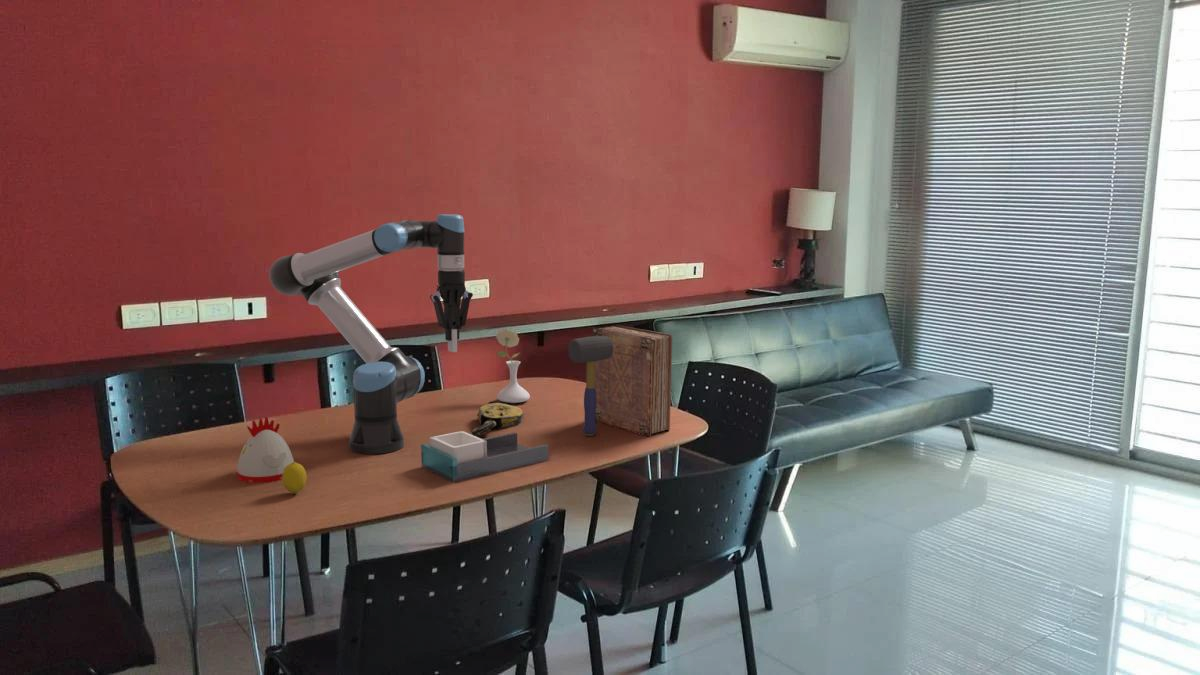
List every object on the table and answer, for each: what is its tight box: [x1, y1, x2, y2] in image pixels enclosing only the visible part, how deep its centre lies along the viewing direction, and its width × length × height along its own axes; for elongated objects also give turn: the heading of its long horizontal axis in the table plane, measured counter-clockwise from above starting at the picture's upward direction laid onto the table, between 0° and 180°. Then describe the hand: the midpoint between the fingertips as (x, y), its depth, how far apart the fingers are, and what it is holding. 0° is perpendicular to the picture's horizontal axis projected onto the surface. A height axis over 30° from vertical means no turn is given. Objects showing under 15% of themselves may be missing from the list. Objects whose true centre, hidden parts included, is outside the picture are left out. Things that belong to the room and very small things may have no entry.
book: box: [592, 324, 673, 437], centre depth 278 cm, size 25×9×30 cm, turn 44°
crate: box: [429, 430, 487, 464], centre depth 236 cm, size 10×12×7 cm
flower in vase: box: [495, 328, 531, 404], centre depth 307 cm, size 13×11×25 cm
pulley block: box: [471, 401, 527, 437], centre depth 278 cm, size 14×6×30 cm
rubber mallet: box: [567, 335, 613, 437], centre depth 267 cm, size 12×8×30 cm, turn 124°
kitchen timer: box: [236, 416, 295, 484], centre depth 230 cm, size 14×14×15 cm
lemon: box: [281, 461, 308, 495], centre depth 217 cm, size 6×6×8 cm
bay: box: [420, 431, 549, 483], centre depth 242 cm, size 30×16×6 cm, turn 130°
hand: (452, 351), depth 259 cm, fingers closed
